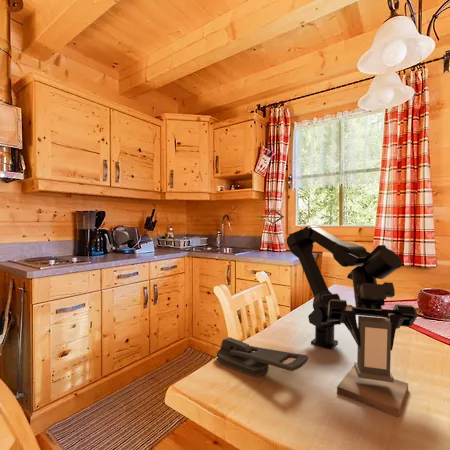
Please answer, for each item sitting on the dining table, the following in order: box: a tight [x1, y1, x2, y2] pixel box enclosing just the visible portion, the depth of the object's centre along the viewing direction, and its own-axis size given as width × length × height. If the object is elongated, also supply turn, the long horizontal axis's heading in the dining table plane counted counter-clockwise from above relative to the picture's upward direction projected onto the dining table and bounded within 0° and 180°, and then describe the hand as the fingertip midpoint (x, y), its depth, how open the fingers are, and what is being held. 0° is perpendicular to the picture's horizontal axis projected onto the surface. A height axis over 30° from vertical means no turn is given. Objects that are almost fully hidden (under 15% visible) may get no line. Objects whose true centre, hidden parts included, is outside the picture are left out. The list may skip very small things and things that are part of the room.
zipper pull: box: [216, 336, 309, 377], centre depth 74 cm, size 9×7×25 cm
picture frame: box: [353, 315, 395, 383], centre depth 65 cm, size 5×7×12 cm
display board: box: [336, 365, 409, 418], centre depth 65 cm, size 12×12×2 cm
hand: (375, 348), depth 63 cm, fingers closed on picture frame, 6 cm apart
